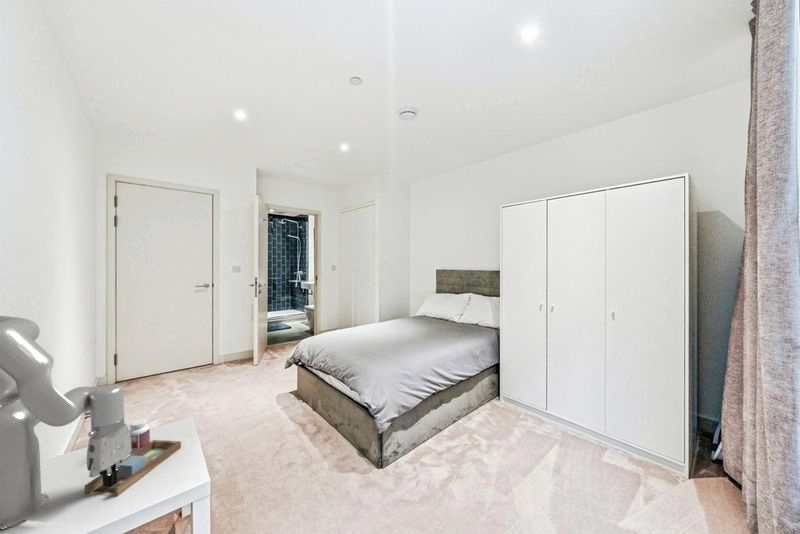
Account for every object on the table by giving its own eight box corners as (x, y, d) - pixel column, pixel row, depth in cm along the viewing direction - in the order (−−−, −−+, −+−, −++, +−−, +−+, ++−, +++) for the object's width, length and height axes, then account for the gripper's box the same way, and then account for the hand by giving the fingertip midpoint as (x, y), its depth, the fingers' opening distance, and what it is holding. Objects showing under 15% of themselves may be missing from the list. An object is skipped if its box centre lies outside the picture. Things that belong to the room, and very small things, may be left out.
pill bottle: (150, 443, 122) (149, 416, 122) (150, 451, 118) (149, 422, 117) (129, 450, 119) (128, 421, 118) (128, 458, 114) (127, 428, 113)
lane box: (84, 496, 95) (84, 485, 95) (154, 448, 119) (153, 439, 119) (117, 499, 94) (117, 488, 94) (181, 450, 118) (180, 441, 118)
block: (118, 477, 102) (117, 465, 102) (132, 466, 107) (132, 455, 107) (132, 478, 102) (131, 466, 102) (146, 467, 107) (145, 456, 107)
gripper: (93, 441, 89) (95, 504, 90) (141, 415, 104) (143, 469, 104) (69, 440, 90) (72, 502, 90) (121, 414, 105) (123, 468, 105)
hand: (110, 484), depth 97 cm, fingers closed
